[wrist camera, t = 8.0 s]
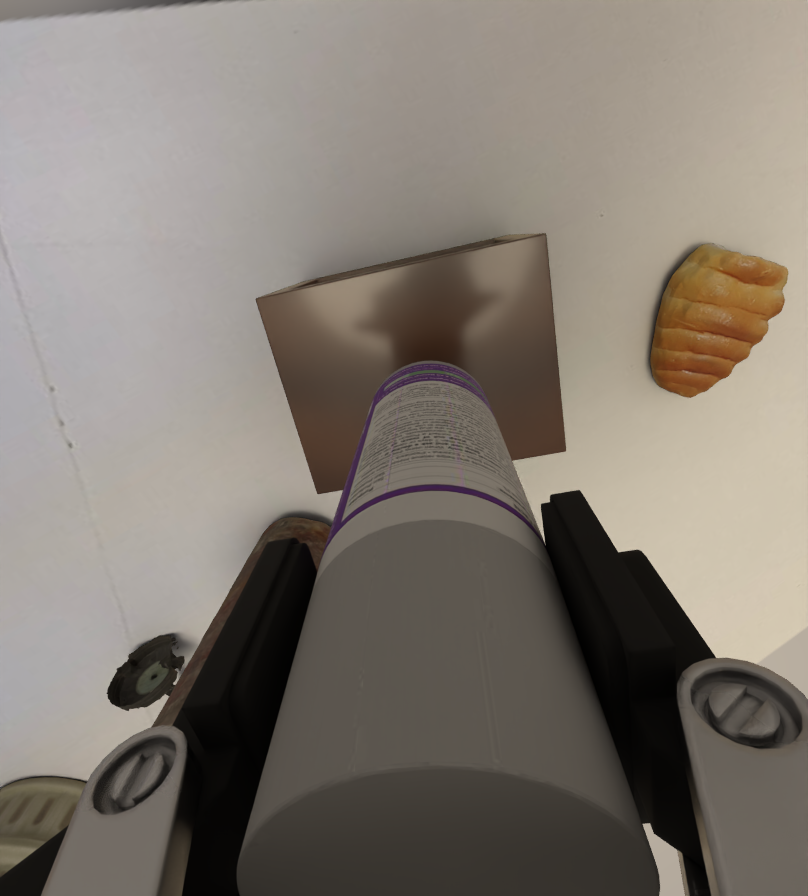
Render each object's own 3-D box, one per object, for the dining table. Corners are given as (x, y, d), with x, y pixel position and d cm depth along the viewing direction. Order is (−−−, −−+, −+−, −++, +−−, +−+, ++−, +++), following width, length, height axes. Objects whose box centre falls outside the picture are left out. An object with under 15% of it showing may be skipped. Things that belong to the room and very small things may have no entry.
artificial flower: (202, 610, 46) (189, 700, 37) (309, 738, 57) (318, 832, 48) (113, 654, 46) (78, 756, 37) (238, 776, 56) (234, 878, 47)
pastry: (710, 399, 35) (742, 417, 32) (621, 377, 35) (642, 392, 31) (780, 262, 31) (824, 265, 28) (680, 236, 31) (712, 236, 28)
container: (446, 493, 20) (492, 1043, 6) (347, 436, 19) (156, 927, 6) (515, 402, 19) (778, 879, 5) (410, 335, 18) (363, 679, 4)
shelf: (302, 281, 33) (254, 298, 24) (510, 234, 31) (546, 232, 22) (343, 431, 37) (317, 494, 28) (529, 396, 35) (566, 451, 26)
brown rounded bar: (253, 569, 43) (122, 821, 24) (266, 498, 40) (130, 723, 21) (338, 591, 43) (273, 853, 25) (358, 522, 40) (301, 761, 22)
